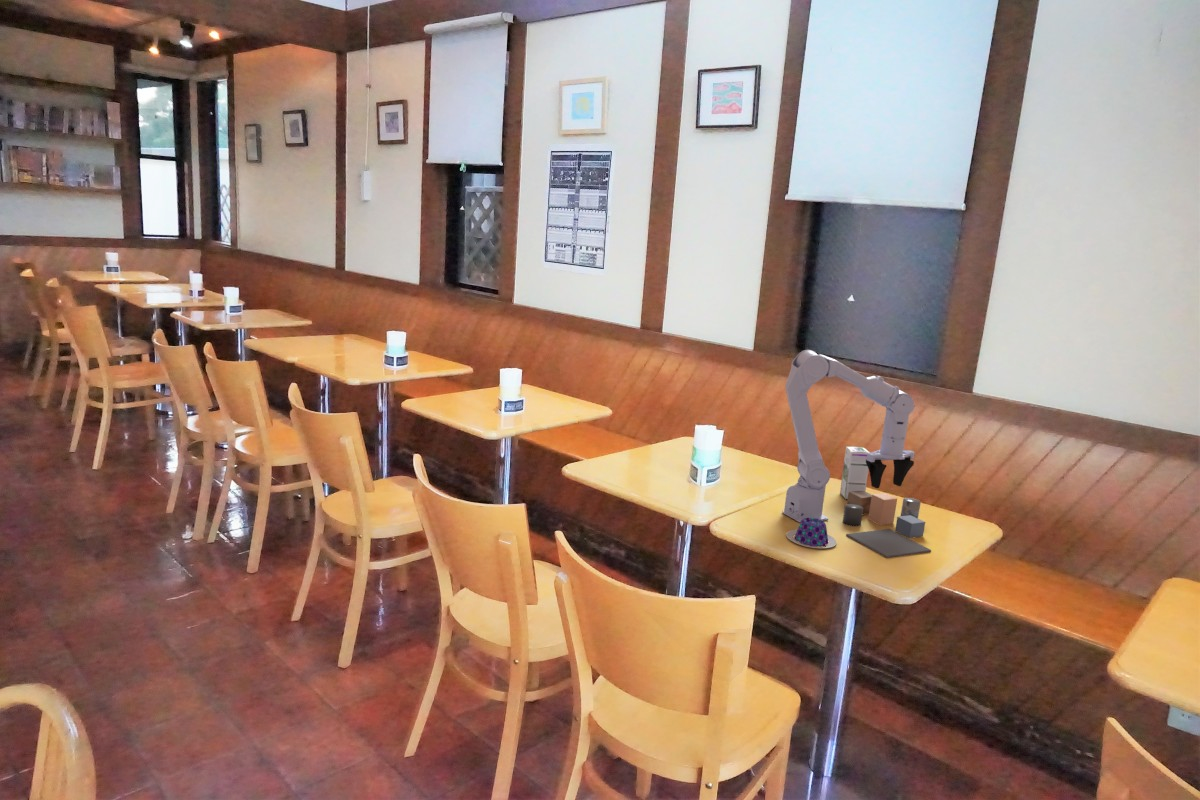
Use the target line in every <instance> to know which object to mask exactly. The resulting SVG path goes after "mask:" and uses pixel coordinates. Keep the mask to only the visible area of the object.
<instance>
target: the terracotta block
mask: <svg viewBox="0 0 1200 800" xmlns="http://www.w3.org/2000/svg"><path fill="white" fill-rule="evenodd" d="M871 494H872V493H871ZM897 503H898V498H896V497H895V496H892V495H890V494H888V493H885V492H884V493H873V494H872V497H871V504H870V511H869V514H868V517H867V519H868V520H869V521H871V522H873V523H874V524H876V525H879V526H884V525H885V524H887V525H894V521H895V517H896V516H895V515H896V508H897ZM885 526H886V525H885Z"/></svg>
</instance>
